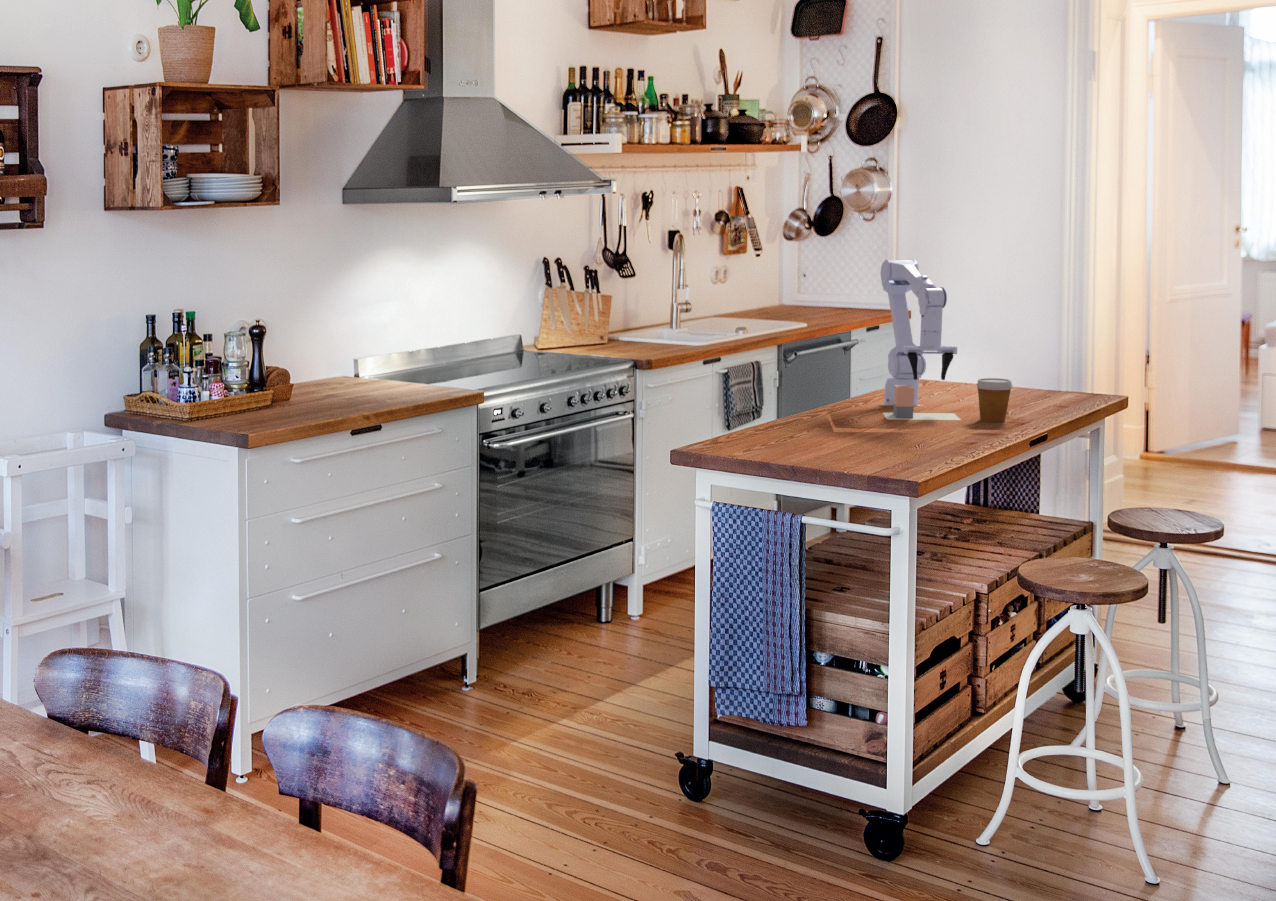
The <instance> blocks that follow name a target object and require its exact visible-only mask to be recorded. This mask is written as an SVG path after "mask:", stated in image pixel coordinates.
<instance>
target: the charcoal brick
mask: <svg viewBox="0 0 1276 901" xmlns="http://www.w3.org/2000/svg"><path fill="white" fill-rule="evenodd" d="M892 413H893V414H894V416H895V417H896V418H913V413H914V406H913V407H897V406H896V405H895V404H894V405H893V412H892Z"/></svg>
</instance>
